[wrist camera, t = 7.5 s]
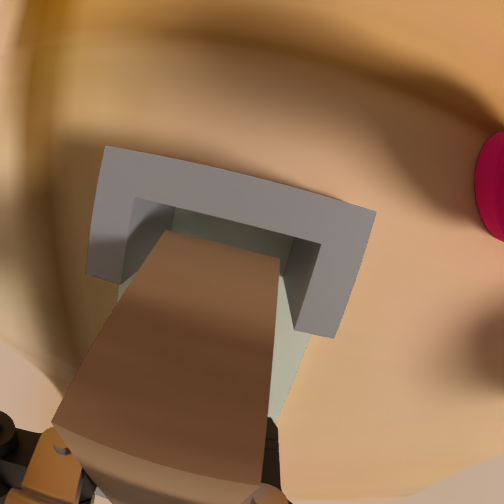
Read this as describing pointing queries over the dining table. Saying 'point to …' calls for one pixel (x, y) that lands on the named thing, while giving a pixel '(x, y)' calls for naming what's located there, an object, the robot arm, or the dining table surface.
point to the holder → (233, 239)
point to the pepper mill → (491, 185)
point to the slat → (179, 379)
